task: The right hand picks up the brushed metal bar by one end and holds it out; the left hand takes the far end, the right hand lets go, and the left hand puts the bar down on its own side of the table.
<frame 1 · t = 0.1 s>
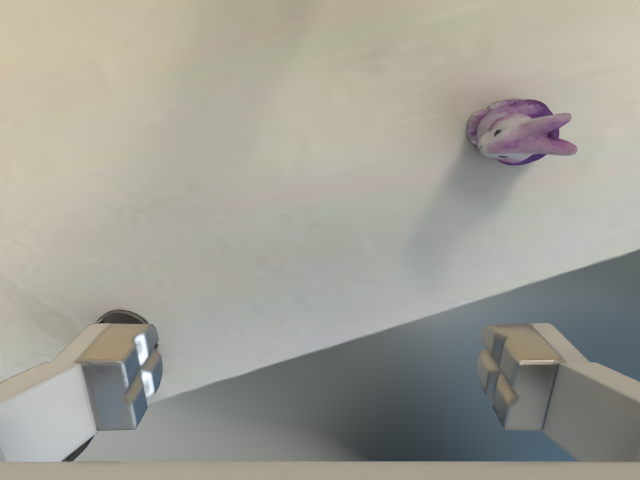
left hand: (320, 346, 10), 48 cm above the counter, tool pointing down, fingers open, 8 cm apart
figurine: (498, 132, 55), on the counter
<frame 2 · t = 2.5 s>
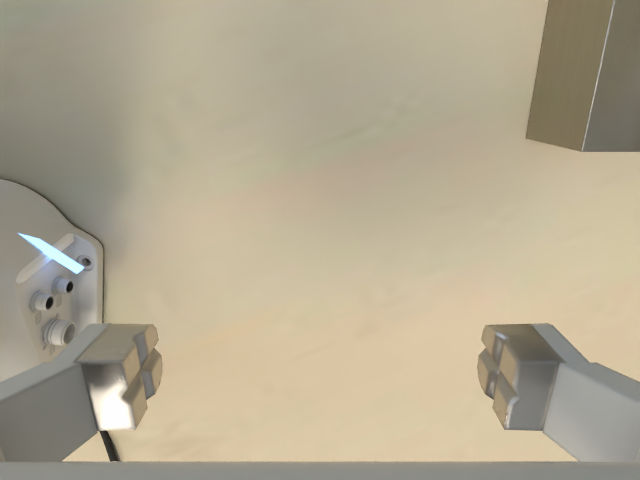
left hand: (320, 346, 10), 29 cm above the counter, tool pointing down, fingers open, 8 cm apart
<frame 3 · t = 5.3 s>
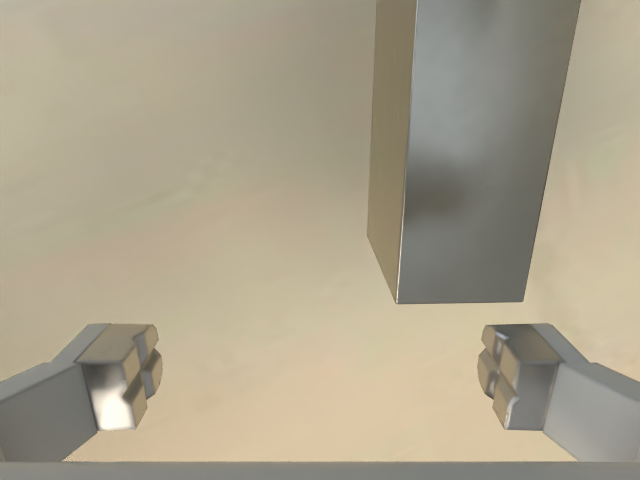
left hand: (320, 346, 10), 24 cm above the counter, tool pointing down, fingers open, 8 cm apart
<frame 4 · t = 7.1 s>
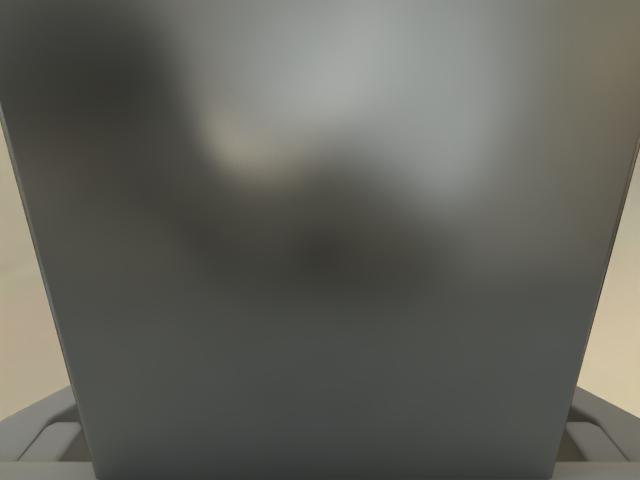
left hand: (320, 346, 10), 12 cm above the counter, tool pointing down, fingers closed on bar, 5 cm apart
when the right hand's fingers open (13 cm above the counter, at t = 8.3 s): bar stays where it is, held by the left hand.
when the left hand's fingers open (5 cm above the counter, at t = 12.4 s): bar drops 1 cm, on the counter.
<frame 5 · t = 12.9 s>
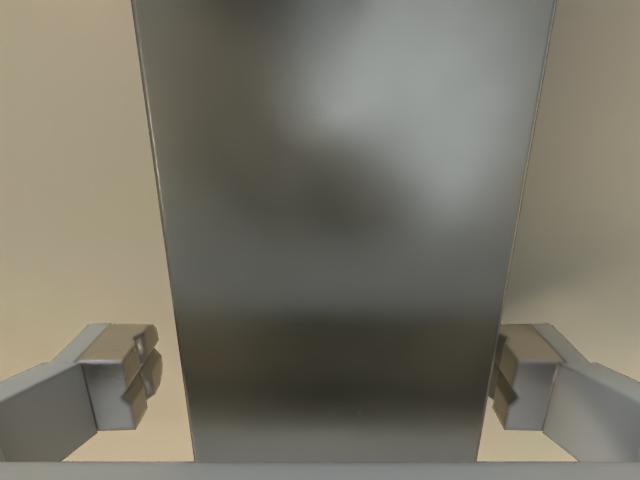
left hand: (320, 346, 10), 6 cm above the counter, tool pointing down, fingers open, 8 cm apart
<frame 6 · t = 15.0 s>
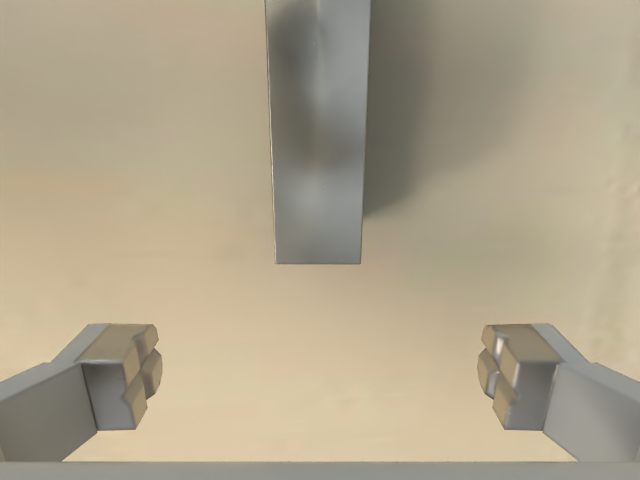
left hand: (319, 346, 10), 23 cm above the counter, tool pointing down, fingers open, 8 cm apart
bar: (318, 42, 29), on the counter
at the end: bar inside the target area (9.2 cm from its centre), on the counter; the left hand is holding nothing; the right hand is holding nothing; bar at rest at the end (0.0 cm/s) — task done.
